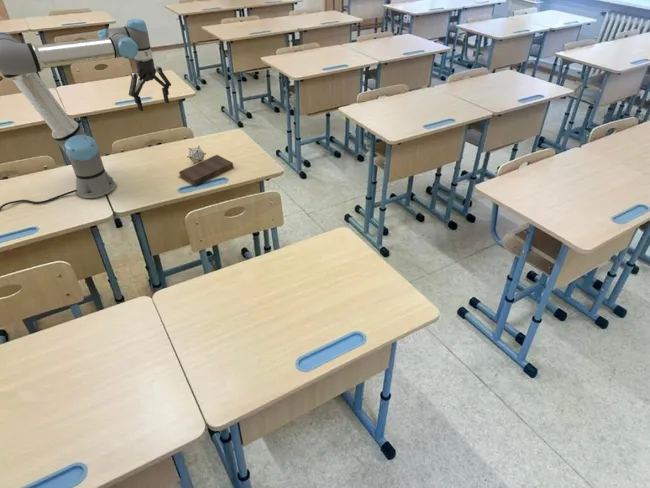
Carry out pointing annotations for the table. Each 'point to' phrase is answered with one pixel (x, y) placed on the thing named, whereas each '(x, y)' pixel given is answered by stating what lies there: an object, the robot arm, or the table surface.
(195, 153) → the grey spiked polyhedron
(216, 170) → the walnut board
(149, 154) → the table surface
